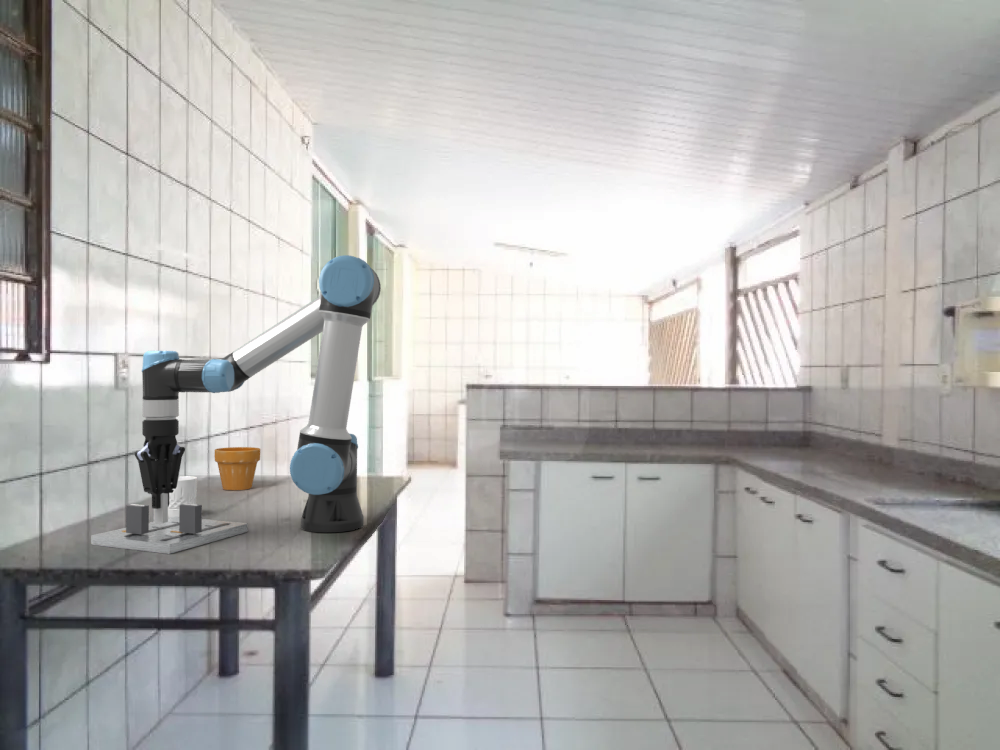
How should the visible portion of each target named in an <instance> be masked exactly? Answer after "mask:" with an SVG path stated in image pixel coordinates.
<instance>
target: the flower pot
mask: <svg viewBox="0 0 1000 750" xmlns="http://www.w3.org/2000/svg"><path fill="white" fill-rule="evenodd" d="M261 450H262V449H261V448H259V447H251V446H245V447H244V446H238V447H237V446H231V447H230V446H229V447H219V448H215V449H214V461H215V462H216V463H217V468H218V472H219V476H220V482H221V486H222V489H223V490H225V491H245V490H246V491H247V490H250V489H252V487H253V483H254V480H255V479H254V478H255V474H256V469H257V464H258V462H259V461H260V460H261Z"/></svg>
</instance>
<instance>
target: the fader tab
mask: <svg viewBox="0 0 1000 750" xmlns="http://www.w3.org/2000/svg"><path fill="white" fill-rule="evenodd" d="M125 506H126V507H125V508H126V511H125V513H126V515H125V528H126V533H132V534H145V533H149V522H150V516H149V515H150V505H148V504H137V503H131V504H128V505H125Z"/></svg>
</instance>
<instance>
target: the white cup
mask: <svg viewBox="0 0 1000 750" xmlns="http://www.w3.org/2000/svg"><path fill="white" fill-rule="evenodd" d="M172 490H174V491H173V493H169V506H168V518H171V517H175V516H177V517H179V510H180V505H182V504H196V505H197V492H198V491H197V490H198V477H197V476H191V475H188V476H187V475H182V476H181V475H180V476H179V477H178V482H177V487H176V489H172Z"/></svg>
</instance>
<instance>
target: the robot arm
mask: <svg viewBox="0 0 1000 750" xmlns="http://www.w3.org/2000/svg"><path fill="white" fill-rule="evenodd" d="M318 277H319V278H318V283H319V284H318V285H319V290H320V292H319V296H318V297H316V298H315V299H313V300H312V301H310V302H309V303H307V304H305V305H304V306H302V307H301V308H299V309H298V310H296V311H295V312H293V313H291V314H290V315H288V316H286V317H285V318H284V319H282V320H280V321H279V322H277V323H276V324H274V325H273V326H270V327H269V328H268V329H266V330H265V331H263V332H262V333H260V334H258V335H257V336H256V337H253V338H252V339H251V340H249V341H248V342H246V343H244V344H243V345H241V346H240V347H238V348H237V349H235V350H234V351H232V352H231V353H229V354H227V355H226V356H224V357H223V358H221V359H218V358H211V359H210V358H209V359H208V358H207V359H180V355H179V352H178V351H176V350H175V351H174V350H148V351H145V352H144V354H143V356H142V369H141V374H142V417H143V418H145V419H143V420H142V427H141V428H142V431H141V432H142V434H141V435H142V436H143V437H144V442H143V444H142V445H143V447H142V448H141V449H140V450H139V451H138V450H137V451H134V457H135V458H136V459H135V460H137V462H138V469H139V472H140V477H141V478H140V479H141V482H142V488H143V489H142V490H143V492H144V493H147V494H149V495H151V508H152V509H153V510H152V511H153V521H152V522H154V523H166V522H168V506H169V493H173V491H174V490H172V489H176V487H177V482H178V477H179V475H180V470H181V464H182V460H183V459H182V458H183V456H184V453H185V451H186V447H185V446H180V445H179V444H178V441H177V438H176V436H178V435H179V431H180V430H179V426H180V424H179V421H180V420H178V419H177V417H179V416H180V414H179V413H180V412H179V411H180V409H179V408H180V407H179V406H180V405H179V402H180V400H179V398H180V397H179V393H212V394H219V393H227V392H233V391H234V392H235V390H238V389H240V388H241V387H242V386H243V385H244V383H245V382H246V381H247V380H249V379H250V378H252V377H253V376H255V375H257V374H258V373H260V372H261V371H263V370H264V369H266V368H267V367H269V366H271V365H272V364H274V363H276V362H277V361H278V360H280V359H282V358H283V357H285V356H286V355H288V354H290V353H291V352H293V351H294V350H296V349H297V348H299V347H300V346H302V345H304V344H305V343H307V342H308V341H310V340H312V339H313V338H315V337H317V336H318V335H319V334H321V333H322V334H321V341H320V347H319V354H318V358H317V359H318V360H317V366H316V372H315V378H314V385H313V391H312V399H311V405H310V411H309V418H308V424H306V425H305V426H304V427H303V428H302V429H300V430H299V437H298V443H297V448H296V449H297V450H296V451H295V452H294V454H293V455H292V457H291V460H290V464H289V474H290V477H291V480H292V482H293V483H294V485H295V486H296V487H297V488H298V489H299V490H301V491H302V492H304V493H306V494H308V497H307V499H306V502H305V505H304V509H303V513H302V515H301V518H300V528H301V530H304V531H307V532H311V533H342V532H344V533H345V532H350V531H355V529H356V530H359V529H361V528H363V527H364V517H365V516H364V514H363V511H362V507H361V504H360V501H359V498H358V494H357V493H358V449H359V444H358V437H357V436H356V435H355V434H353V433H349V432H348V430H347V426H348V419H349V416H350V415H349V413H350V407H351V400H352V394H353V388H354V381H355V376H356V375H355V374H356V368H357V362H358V357H359V356H358V355H359V350H360V349H359V348H360V344H361V343H360V342H361V337H362V331H363V326H364V325H366V324H367V323H368V322H370V321H371V315H372V308H373V306H374V305H375V304H376V303H377V301H378V299H379V297H380V295H381V290H382V289H381V285H382V284H381V281H380V278H379V276H378V274H377V273H376V272H375V270H374V269H373V268H371V266H370V264H368V263H367V262H366V261H365V259H362V258H360V257H357V256H353V255H339V256H336V257H333V258H332V259H330V260H329V261H327V262H326V263H325V264H324V266H323V267H322V269H321V271H320V273H319V276H318ZM360 527H361V528H360ZM358 528H359V529H358Z"/></svg>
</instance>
